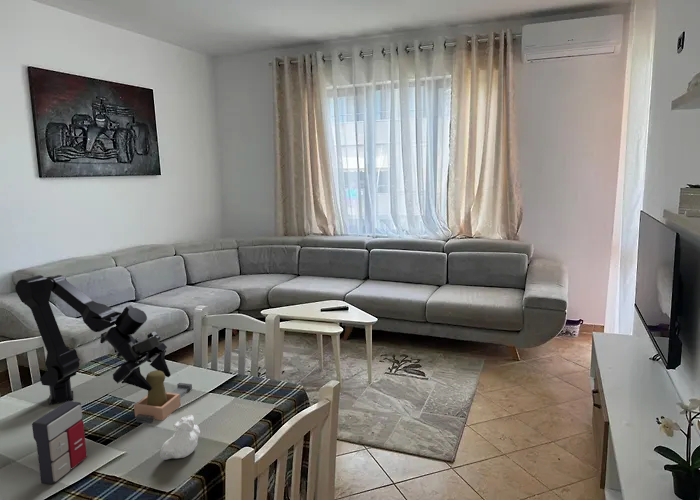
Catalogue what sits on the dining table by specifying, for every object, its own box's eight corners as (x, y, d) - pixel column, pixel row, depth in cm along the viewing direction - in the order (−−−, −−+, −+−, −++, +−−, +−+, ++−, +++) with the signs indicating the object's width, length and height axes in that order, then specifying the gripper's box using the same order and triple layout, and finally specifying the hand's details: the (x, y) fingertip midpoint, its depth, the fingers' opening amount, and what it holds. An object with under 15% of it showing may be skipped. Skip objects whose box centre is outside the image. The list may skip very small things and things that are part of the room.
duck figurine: (165, 474, 118) (184, 448, 114) (146, 450, 120) (164, 424, 116) (201, 449, 129) (219, 424, 124) (183, 427, 131) (201, 402, 126)
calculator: (54, 485, 111) (47, 425, 108) (38, 483, 112) (31, 423, 109) (89, 457, 121) (83, 401, 119) (74, 455, 122) (68, 400, 120)
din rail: (136, 422, 138) (136, 416, 138) (179, 387, 159) (179, 382, 159) (150, 423, 137) (150, 417, 137) (192, 389, 158) (191, 384, 158)
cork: (145, 404, 146) (143, 370, 144) (167, 400, 148) (165, 366, 146) (147, 414, 140) (144, 378, 138) (169, 409, 143) (167, 374, 141)
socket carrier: (135, 416, 141) (134, 404, 141) (154, 402, 150) (153, 390, 149) (162, 420, 139) (162, 408, 139) (180, 405, 148) (179, 393, 147)
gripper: (118, 337, 132) (157, 380, 132) (159, 317, 150) (194, 354, 149) (96, 362, 135) (134, 403, 135) (139, 339, 153) (172, 375, 153)
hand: (160, 382), depth 143 cm, fingers open, 9 cm apart
